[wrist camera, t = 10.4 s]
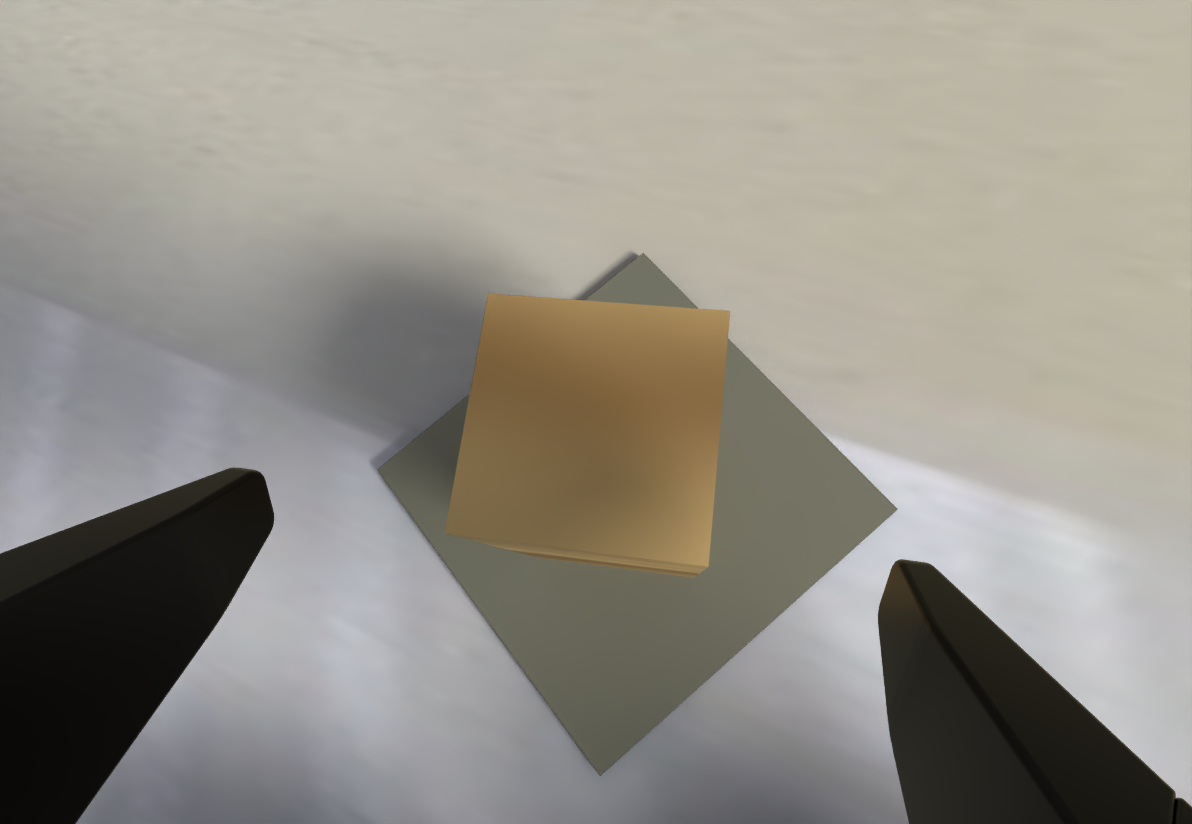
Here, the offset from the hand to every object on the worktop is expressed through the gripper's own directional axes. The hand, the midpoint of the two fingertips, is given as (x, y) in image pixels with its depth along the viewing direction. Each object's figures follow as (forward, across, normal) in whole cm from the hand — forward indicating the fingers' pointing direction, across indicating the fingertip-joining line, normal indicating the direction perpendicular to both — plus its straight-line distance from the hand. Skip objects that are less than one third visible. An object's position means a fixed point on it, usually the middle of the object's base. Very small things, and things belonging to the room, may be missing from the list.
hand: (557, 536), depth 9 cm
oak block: (+10, 0, +7) cm, 12 cm away
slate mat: (+11, 0, +7) cm, 13 cm away
